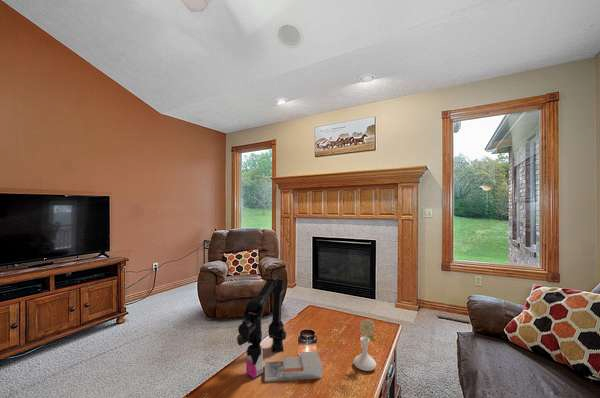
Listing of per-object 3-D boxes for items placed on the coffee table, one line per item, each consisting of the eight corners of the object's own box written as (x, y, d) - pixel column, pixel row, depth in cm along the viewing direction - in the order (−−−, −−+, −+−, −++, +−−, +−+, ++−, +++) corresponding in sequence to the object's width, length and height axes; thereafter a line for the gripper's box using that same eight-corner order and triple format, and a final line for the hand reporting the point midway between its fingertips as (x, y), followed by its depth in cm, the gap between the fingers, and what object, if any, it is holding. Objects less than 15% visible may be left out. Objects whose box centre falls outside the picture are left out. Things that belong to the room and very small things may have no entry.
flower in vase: (349, 362, 137) (349, 314, 138) (366, 358, 142) (367, 311, 142) (364, 377, 125) (365, 324, 126) (383, 372, 130) (383, 321, 130)
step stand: (264, 366, 133) (265, 354, 133) (317, 363, 136) (317, 351, 137) (264, 381, 121) (264, 368, 121) (322, 378, 124) (322, 365, 125)
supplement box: (254, 368, 131) (255, 345, 131) (263, 373, 127) (263, 349, 127) (245, 374, 126) (246, 349, 126) (253, 379, 122) (254, 354, 123)
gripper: (240, 319, 135) (239, 350, 135) (236, 337, 117) (235, 373, 116) (262, 318, 137) (261, 349, 136) (261, 336, 118) (260, 371, 118)
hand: (254, 359), depth 127 cm, fingers closed on supplement box, 8 cm apart
